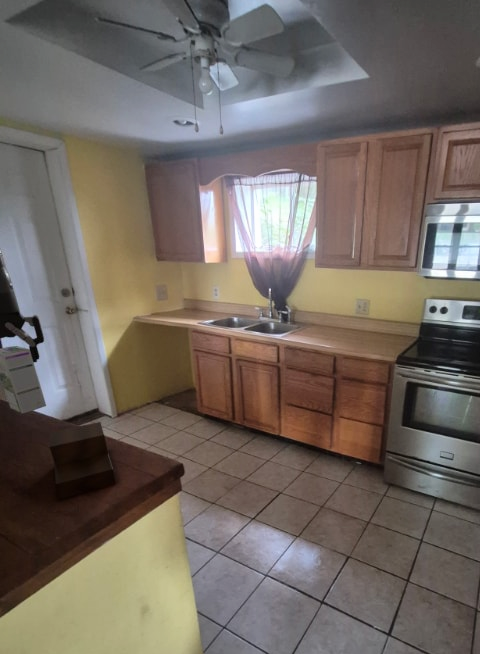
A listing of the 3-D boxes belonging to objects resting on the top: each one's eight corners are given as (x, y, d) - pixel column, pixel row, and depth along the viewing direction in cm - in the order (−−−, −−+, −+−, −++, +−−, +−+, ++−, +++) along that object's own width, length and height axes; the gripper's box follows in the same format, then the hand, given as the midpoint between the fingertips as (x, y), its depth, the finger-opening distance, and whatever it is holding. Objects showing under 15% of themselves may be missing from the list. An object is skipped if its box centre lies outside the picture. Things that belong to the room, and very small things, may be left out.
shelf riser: (60, 499, 80) (49, 464, 76) (58, 464, 92) (49, 432, 88) (116, 483, 85) (108, 449, 81) (107, 452, 97) (100, 421, 94)
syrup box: (47, 406, 90) (31, 348, 85) (20, 414, 86) (1, 354, 80) (35, 401, 93) (18, 344, 87) (8, 409, 88) (-11, 350, 82)
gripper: (33, 286, 85) (51, 355, 91) (-49, 290, 78) (-23, 364, 84) (31, 290, 79) (51, 363, 85) (-57, 294, 72) (-28, 374, 78)
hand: (14, 364), depth 85 cm, fingers closed on syrup box, 7 cm apart
